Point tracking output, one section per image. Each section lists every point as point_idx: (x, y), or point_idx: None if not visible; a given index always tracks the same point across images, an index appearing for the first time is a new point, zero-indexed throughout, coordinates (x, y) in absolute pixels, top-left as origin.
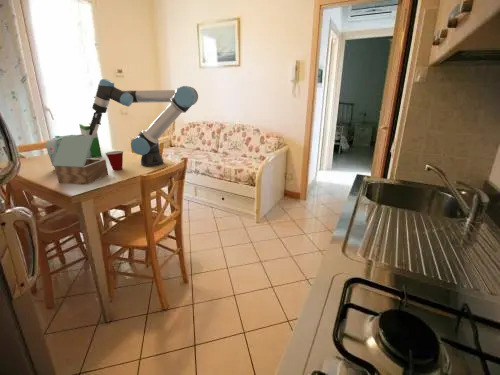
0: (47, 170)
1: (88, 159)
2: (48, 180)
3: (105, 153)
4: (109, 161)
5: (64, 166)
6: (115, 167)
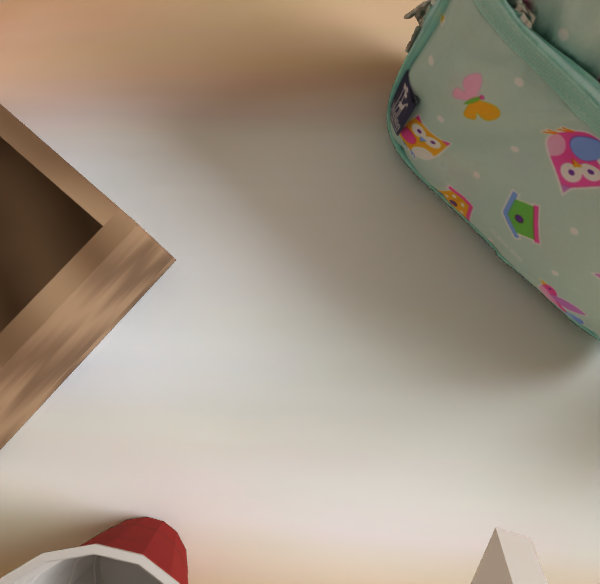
0: None
1: (12, 322)
2: (108, 30)
3: (68, 551)
4: (108, 535)
5: None
6: (84, 557)
